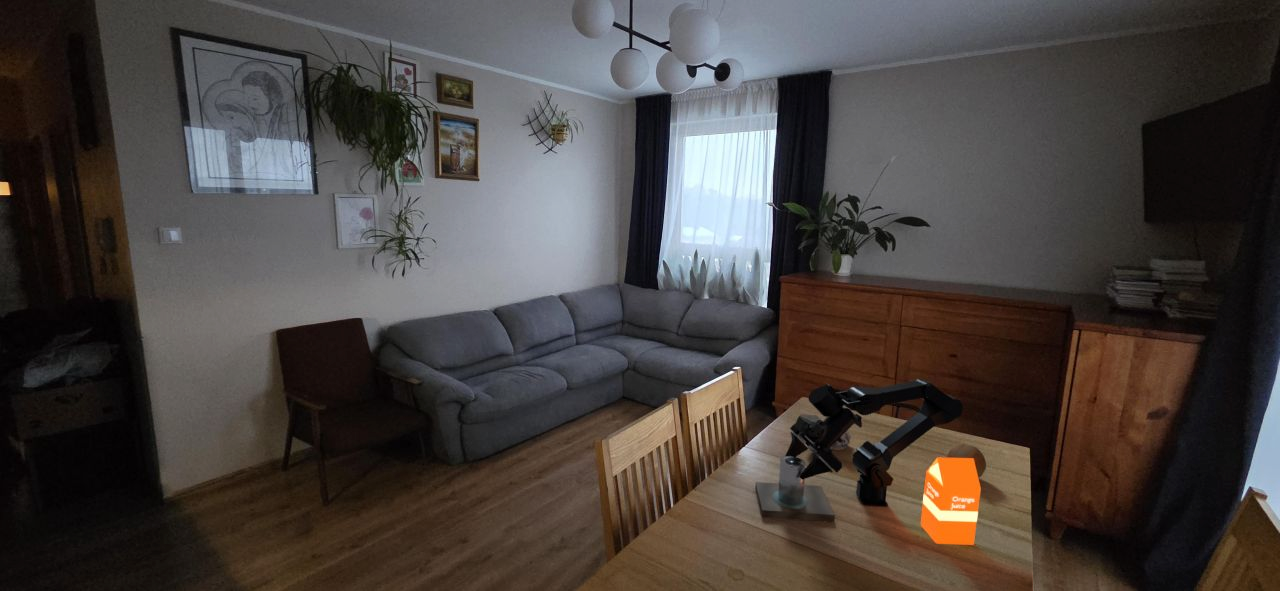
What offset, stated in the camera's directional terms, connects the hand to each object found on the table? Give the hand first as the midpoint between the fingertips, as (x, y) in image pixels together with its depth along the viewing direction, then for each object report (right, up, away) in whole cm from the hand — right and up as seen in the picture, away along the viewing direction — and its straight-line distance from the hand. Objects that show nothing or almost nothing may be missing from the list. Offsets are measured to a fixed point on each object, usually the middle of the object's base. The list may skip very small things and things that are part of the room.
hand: (792, 469), depth 135 cm
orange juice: (+35, -13, -10) cm, 38 cm away
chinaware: (+23, -5, +40) cm, 46 cm away
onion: (+57, -9, +18) cm, 60 cm away
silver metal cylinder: (0, -8, +1) cm, 8 cm away
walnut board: (+1, -10, +2) cm, 11 cm away
